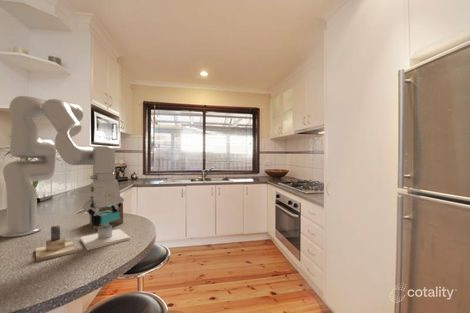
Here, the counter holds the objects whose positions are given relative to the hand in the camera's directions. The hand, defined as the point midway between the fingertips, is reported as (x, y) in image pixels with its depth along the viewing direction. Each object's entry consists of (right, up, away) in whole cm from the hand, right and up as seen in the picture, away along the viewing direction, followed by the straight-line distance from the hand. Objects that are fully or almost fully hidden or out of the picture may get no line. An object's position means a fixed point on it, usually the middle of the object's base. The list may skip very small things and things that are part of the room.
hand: (105, 222), depth 85 cm
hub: (0, -7, 0) cm, 7 cm away
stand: (-11, -7, -10) cm, 17 cm away
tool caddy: (-13, -7, +22) cm, 27 cm away
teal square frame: (0, +1, 0) cm, 1 cm away
